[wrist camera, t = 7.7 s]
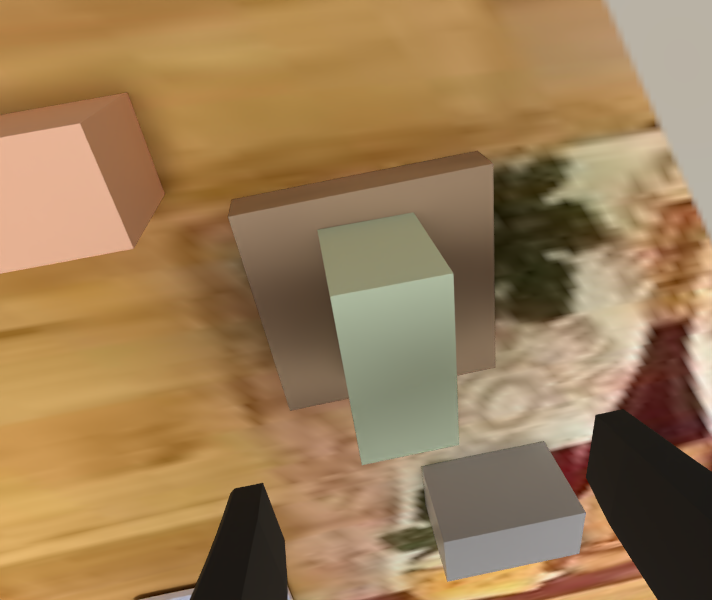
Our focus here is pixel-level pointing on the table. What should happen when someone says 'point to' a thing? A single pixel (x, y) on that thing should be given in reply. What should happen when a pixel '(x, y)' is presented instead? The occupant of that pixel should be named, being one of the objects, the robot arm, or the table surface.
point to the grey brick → (501, 510)
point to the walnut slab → (352, 205)
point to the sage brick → (394, 334)
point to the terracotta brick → (73, 182)
